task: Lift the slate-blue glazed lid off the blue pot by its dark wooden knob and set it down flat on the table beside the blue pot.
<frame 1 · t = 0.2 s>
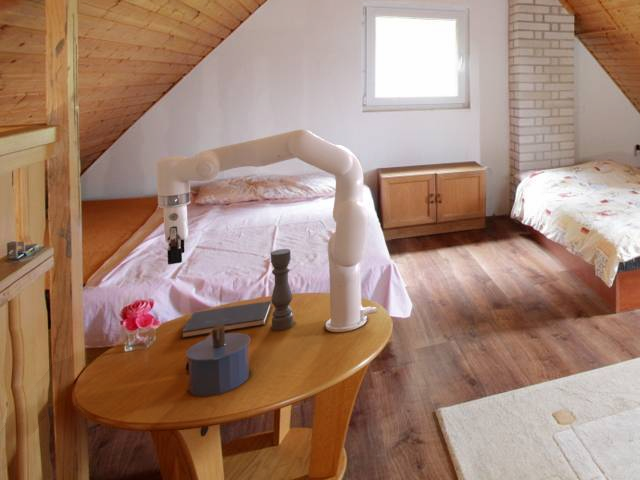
hand: (176, 258, 166), 31 cm above the table, tool pointing down, fingers open, 9 cm apart
sunglasses case: (213, 356, 172), on the table
lid: (218, 347, 158), point 9 cm above the table, touching blue pot
blue pot: (220, 381, 158), on the table
candle holder: (282, 326, 191), on the table
hardcover book: (229, 322, 194), on the table
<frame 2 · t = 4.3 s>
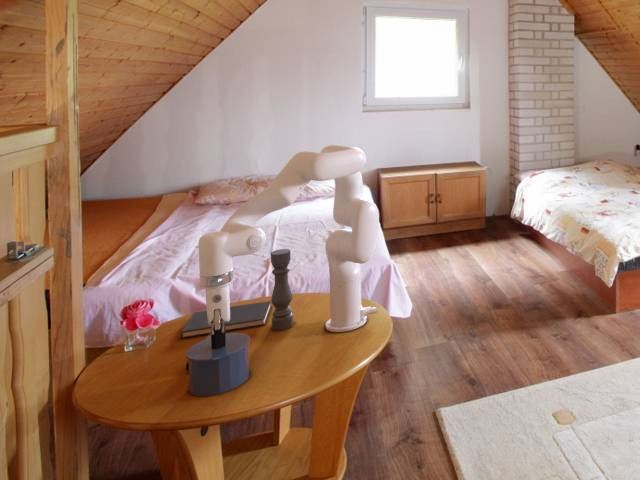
hand: (218, 344, 158), 10 cm above the table, tool pointing down, fingers closed on lid, 2 cm apart
lid: (218, 347, 158), point 10 cm above the table, touching blue pot, gripper
everything else where it was.
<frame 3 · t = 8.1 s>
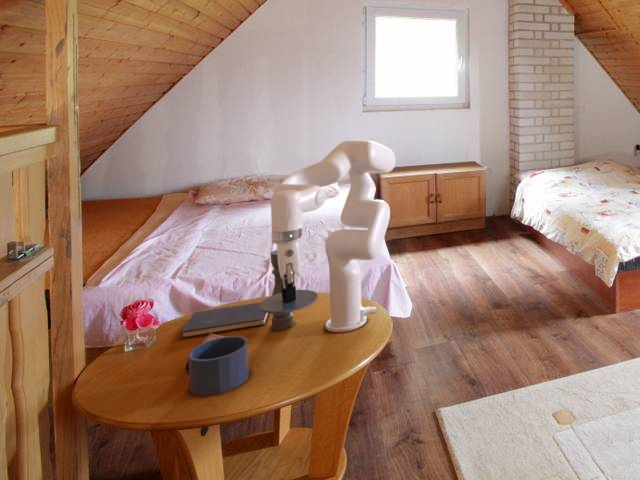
hand: (288, 298, 163), 21 cm above the table, tool pointing down, fingers closed on lid, 2 cm apart
lid: (288, 302, 163), point 20 cm above the table, touching gripper
everything else where it was.
when the fingers open (2 cm above the table, at t = 12.4 s): lid stays where it is, point 1 cm above the table.
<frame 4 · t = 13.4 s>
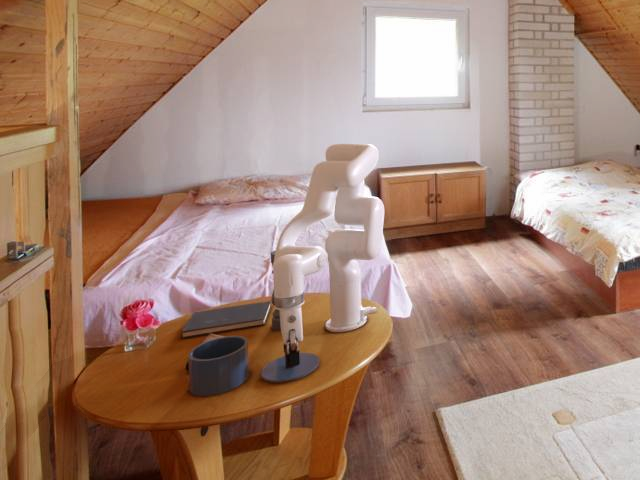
hand: (291, 358, 164), 3 cm above the table, tool pointing down, fingers open, 9 cm apart
lid: (290, 368, 164), point 1 cm above the table
everything else where it was.
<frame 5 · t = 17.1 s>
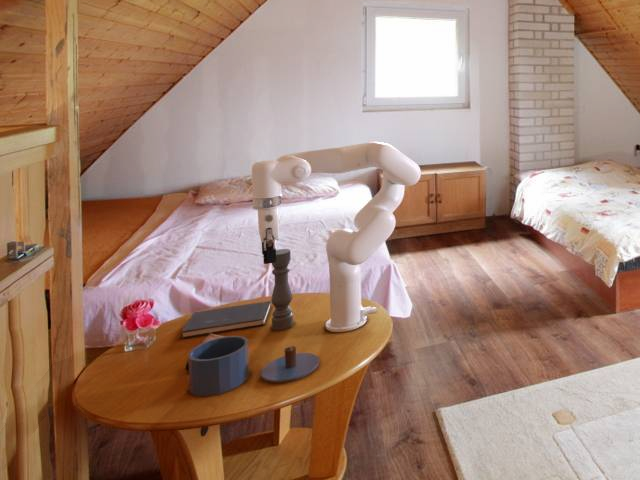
hand: (269, 258, 174), 28 cm above the table, tool pointing down, fingers open, 9 cm apart
nothing on the table moved.
at the end: lid point 0.6 cm above the table; lid inside the target area (0.1 cm from its centre), point 0.6 cm above the table; lid tilted 0° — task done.
